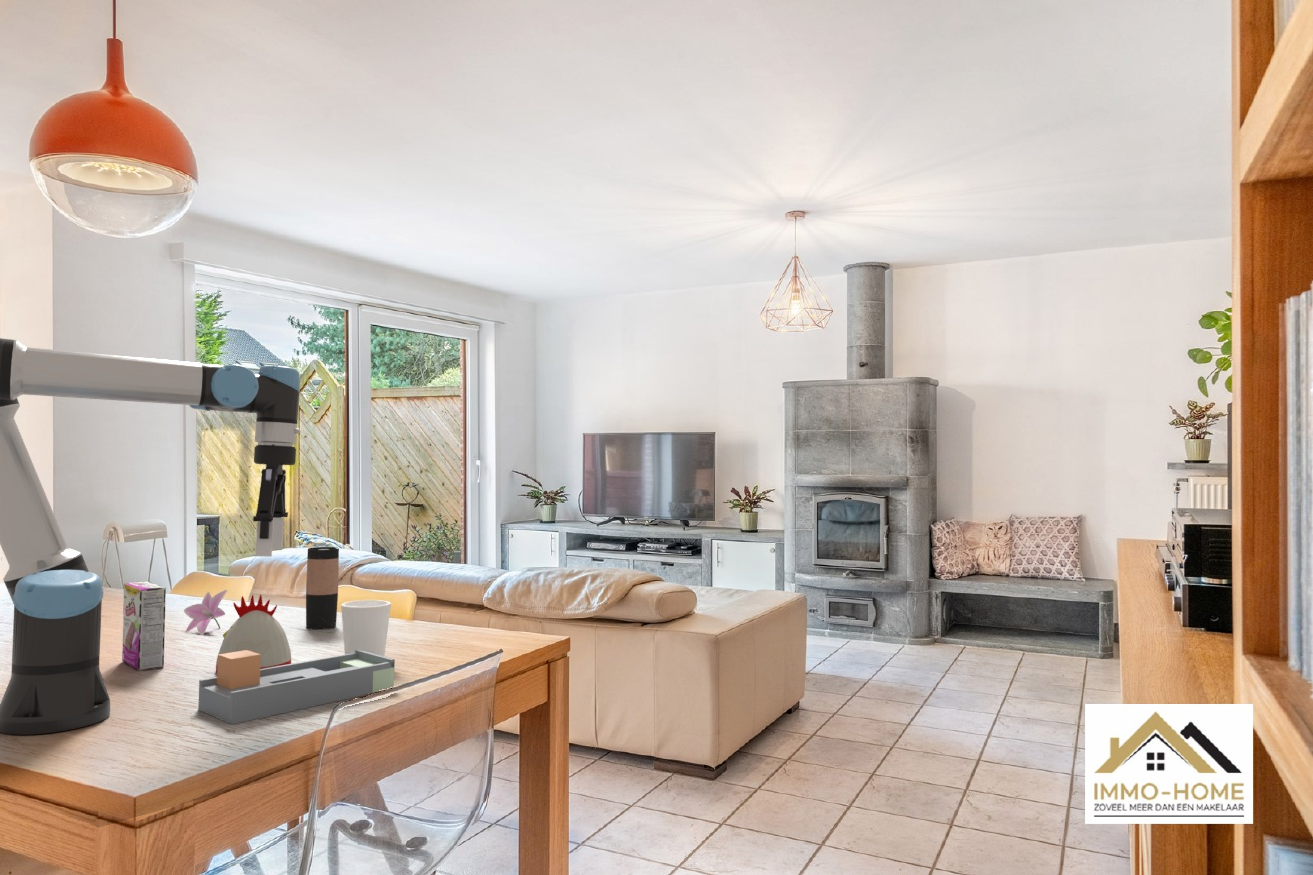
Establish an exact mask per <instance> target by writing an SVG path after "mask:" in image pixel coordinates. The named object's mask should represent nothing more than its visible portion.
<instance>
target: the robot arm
mask: <svg viewBox="0 0 1313 875" xmlns="http://www.w3.org/2000/svg"><path fill="white" fill-rule="evenodd" d="M300 382H301V381H300V371H298V369H296V368H294V367H290V366H281V365H262V366H260V368H259V370H258V373H257V374H255V373H254V372H253V371H252V369H250V368H248V367H247V366H245V365H241V364H236V363H235V364H234V363H228V364H225V365H223V364H214V363H213V364H212V363H201V362H192V361H191V362H190V361H181V360H180V361H179V360H170V359H157V358H150V357H149V358H147V357H135V356H125V355H124V356H123V355H117V354H115V355H114V354H102V353H93V352H82V351H71V350H61V349H50V348H40V347H39V348H38V347H26V346H25V345H24V344H23V343H21V342H20V341H19V339H11V338H3V337H2V338H1V337H0V547H1V550H2V552H3V555H4V557H5V559H6V561H7V563H8V569H7V571H6V573H5V575H4V576H3V579H2V580H3V583H4V584H5V587H6V589H7V591H8V594H9V596H10V599H11V601H12V603H13V628H12V629H13V630H12V650H11V651H12V652H11V675H10V679H9V682H8V684H7V687H6V688H5V692H4V693H3V696H2V698H1V701H0V733H3V734H7V735H19V736H20V735H40V734H51V733H52V734H53V733H57V732H64V731H70V730H75V729H79V728H84V727H87V726H90V725H94V724H96V723H99V722H101V721H103V720H105V719H107V718H109V717H110V715H111V699H110V698H111V697H110V695H109V693H108V690H107V687H106V684H105V682H104V678H103V675H102V673H101V670H100V669H101V668H100V655H101V632H102V631H101V628H102V625H101V624H102V604H103V602H102V601H103V600H102V599H103V598H104V588H103V582H102V579H101V577H100V576H99V575H98V574H96V573H95V572H92V571H90V570H89V568H88V565H87V562H86V561H85V559H84V557H83V555H82V554H83V553H82V552H81V551H79V550H77V549H76V550H75V549H73V548H70V547H69V546H68V545H67V542H66V540H65V538H64V535H63V532H62V530H61V528H60V525H59V524H58V521H57V518H56V515H55V513H54V512H53V509H52V507H51V504H50V501H49V499H48V497H47V494H46V493H45V492H46V491H45V490H44V487H43V484H42V482H41V480H40V477H39V475H38V472H37V471H36V468H35V466H34V462H33V460H32V459H31V456H30V454H29V451H28V448H27V447H26V444H25V442H24V439H23V437H22V434H21V432H20V428H18V427H19V426H18V425H17V422H16V420H15V416H16V414H17V411H18V410H19V408H20V407H21V405H20V401H19V400H18V398H19V397H20V396H22V395H25V396H26V395H28V396H43V397H58V398H74V399H87V400H89V399H91V400H92V399H93V400H103V401H121V402H138V403H149V404H150V403H152V404H166V405H168V404H169V405H186V406H189V407H190V408H192V409H195V410H203V411H207V412H210V411H215V412H216V411H217V412H233V413H239V412H240V413H248V414H253V413H254V414H256V420H255V421H256V422H255V430H254V431H255V432H254V442H255V443H257V445H255V446H254V451H253V452H254V453H253V462H254V464H256V465H257V464H258V465H265V468H262V469H261V472H260V473H261V477H260V478H261V480H260V486H259V487H260V488H259V494H258V501H257V507H256V513H255V515H254V516H253V518H252V520H253V522H257V525H256V544H255V557H270V558H271V557H272V556H273V551H281V550H283V536H284V525H285V524H284V523H285V520H284V519H285V518H288V516H289V512H288V511H287V509H286V479H287V475H286V474H287V471H286V469H285V468H284V467H283V466H294V465H295V464H296V457H297V455H296V454H297V453H296V452H297V448H296V447H295V446H293V445H294V444H296V443H297V435H299V434H301V430H300V428H298V418H299V405H300V404H299V403H300V393H301V390H300V388H301V386H300ZM283 468H284V469H283ZM286 511H287V512H286Z"/></svg>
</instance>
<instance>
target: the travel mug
mask: <svg viewBox="0 0 1313 875" xmlns="http://www.w3.org/2000/svg"><path fill="white" fill-rule="evenodd" d="M339 552H340V548H337V547H334V546H316V547H308V549H307V559H306V560H307V562H306V585H305V588H306V589H305V627H306V629H307V628H309V629H308V630H316V629H319V630H327V629H328V630H329V629H334V628H335V627H337V616H338V615H337V614H338V600H339V570H340V568H339V567H340V566H339V563H340V560H339V559H340V558H339V556H340V553H339Z"/></svg>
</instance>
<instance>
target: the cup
mask: <svg viewBox="0 0 1313 875" xmlns="http://www.w3.org/2000/svg"><path fill="white" fill-rule="evenodd" d="M391 605H392V602H390V601H387V600H381V599H358V600H350V601H345V602H343V603H341V607H340V608H341V621H342V635H343V649H344V650H343V651H344V655H345V654H350V653H355V650H363V651H366V652H370V653H374V654H377V655H381V656H385V655H386V648H387V646H386V645H387V639H388V631H389V624H390V623H389V622H390V617H391V616H390V614H391ZM385 657H386V656H385Z"/></svg>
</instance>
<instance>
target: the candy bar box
mask: <svg viewBox="0 0 1313 875" xmlns="http://www.w3.org/2000/svg"><path fill="white" fill-rule="evenodd" d="M166 591H167V587H165V586H163V585H162V586H161V585H159V584H156V583H153V582H152V581H135V582H134V581H133V582H127V583H124V584H123V607H122V608H123V614H122V615H123V618H122V620H123V621H122V625H123V626H122V654H121V655H122V656H121V658H122V659H121V661H122V662H123V663H124V664H126V663H127V665H128V666H130V667H132V668H133V669H135V670H136V671H139V672H141V671H142V670H143V671H149V670H148V669H150V670H155V669H154V668H156V669H160V668H164V666H165V636H166V635H165V634H166V633H165V632H166V631H165V629H166V628H165V626H166ZM143 671H142V672H143Z"/></svg>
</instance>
